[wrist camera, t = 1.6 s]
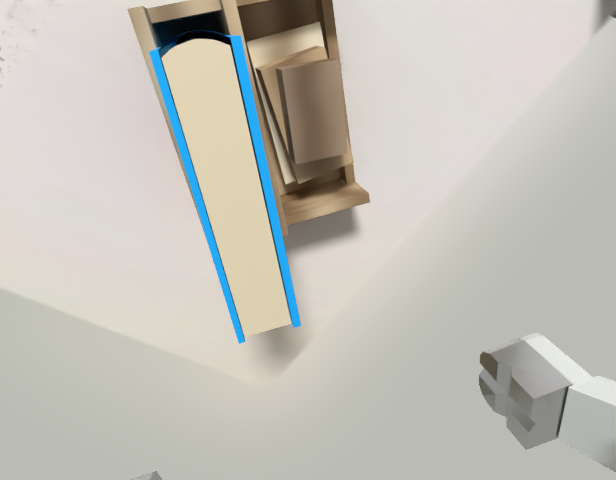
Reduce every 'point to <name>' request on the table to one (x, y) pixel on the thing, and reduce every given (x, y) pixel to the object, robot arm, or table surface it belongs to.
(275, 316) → the book
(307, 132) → the offcut small
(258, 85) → the offcut large
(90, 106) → the table surface
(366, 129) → the table surface
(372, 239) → the table surface
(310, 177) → the offcut medium
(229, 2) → the rack
